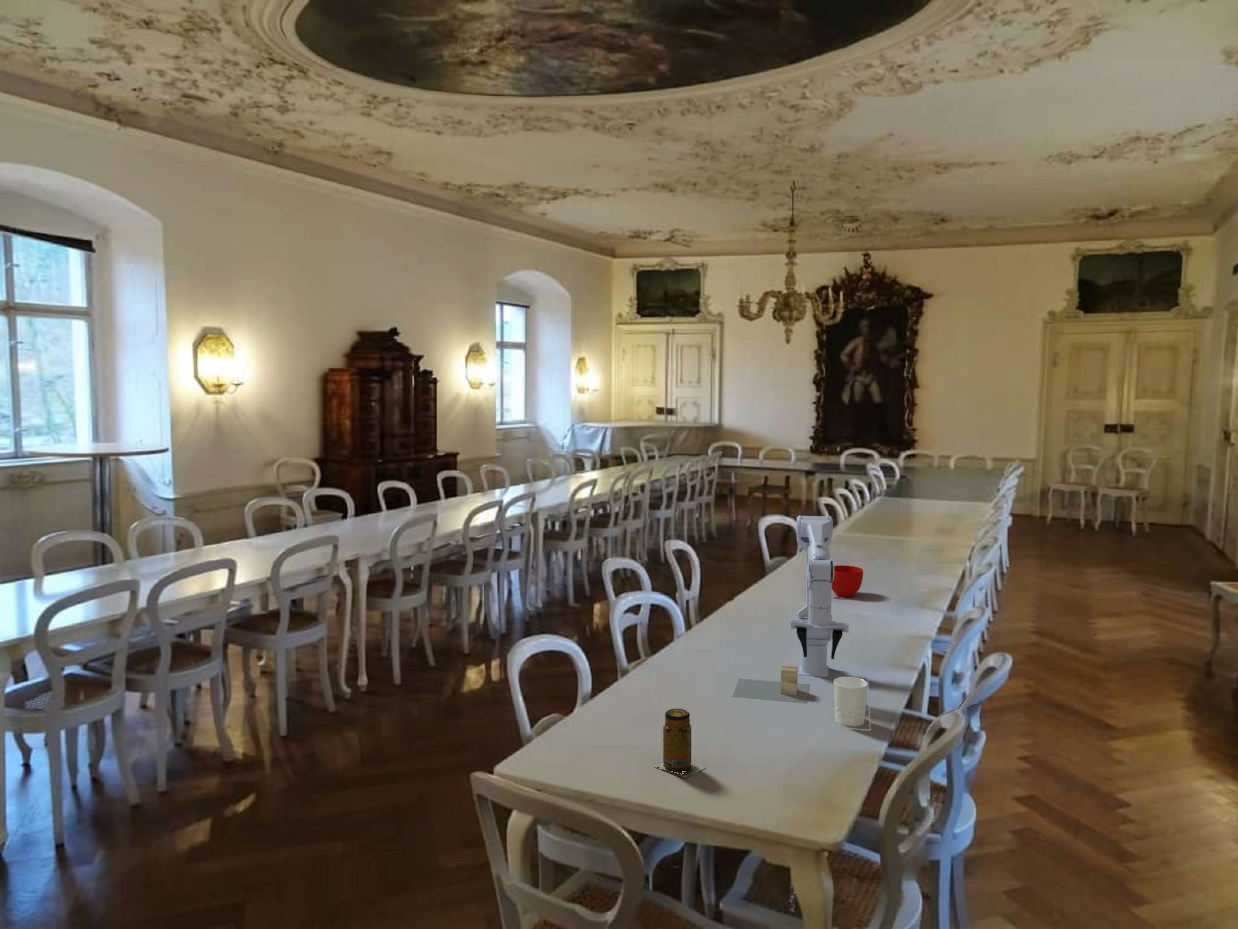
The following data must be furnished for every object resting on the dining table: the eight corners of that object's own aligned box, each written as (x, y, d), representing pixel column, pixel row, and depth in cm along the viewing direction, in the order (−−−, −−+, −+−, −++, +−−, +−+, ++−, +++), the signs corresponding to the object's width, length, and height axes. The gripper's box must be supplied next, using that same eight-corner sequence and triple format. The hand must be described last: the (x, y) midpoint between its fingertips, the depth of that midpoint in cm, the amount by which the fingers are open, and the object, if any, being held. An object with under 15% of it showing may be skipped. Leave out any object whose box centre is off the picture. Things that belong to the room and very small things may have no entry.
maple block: (781, 688, 234) (782, 664, 234) (797, 689, 233) (797, 666, 233) (780, 693, 230) (781, 669, 230) (796, 695, 229) (796, 670, 229)
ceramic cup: (811, 593, 336) (812, 567, 335) (850, 589, 341) (851, 564, 340) (829, 601, 324) (829, 574, 323) (869, 597, 329) (870, 571, 328)
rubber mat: (739, 679, 242) (739, 678, 242) (809, 685, 237) (809, 684, 237) (732, 698, 229) (732, 696, 229) (807, 704, 224) (807, 703, 224)
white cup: (843, 730, 208) (844, 689, 207) (826, 718, 215) (827, 678, 214) (873, 726, 210) (874, 686, 209) (855, 714, 217) (856, 675, 216)
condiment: (675, 756, 194) (675, 703, 193) (706, 768, 189) (706, 714, 187) (653, 767, 189) (653, 713, 188) (684, 779, 183) (684, 724, 182)
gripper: (790, 608, 225) (789, 659, 227) (848, 611, 222) (847, 664, 223) (792, 601, 232) (791, 651, 234) (849, 604, 229) (847, 655, 230)
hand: (818, 657), depth 229 cm, fingers open, 6 cm apart
